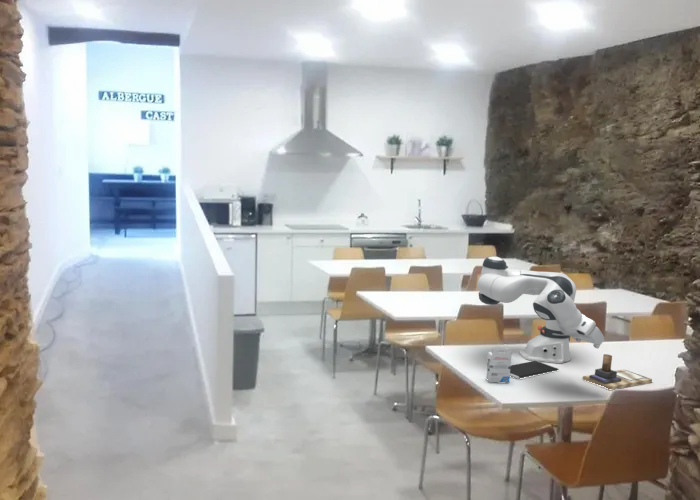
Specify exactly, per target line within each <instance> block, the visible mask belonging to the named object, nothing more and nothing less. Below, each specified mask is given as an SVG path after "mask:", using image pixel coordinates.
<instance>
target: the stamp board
mask: <svg viewBox="0 0 700 500" xmlns="http://www.w3.org/2000/svg"><path fill="white" fill-rule="evenodd" d="M615 371H616V372H617V376H616V378H612V379H607V380H606V379H604V378H601V377H599V376H596V375H595V373H594V374H588V375H582V379H584V380H586V381H585V382H587V381H589V382H592V383H595V384H598V385H601V386H604V387H606V388H608V389H615V390H617V389H616V388H620V389H625V388H626V389H627V388H629V387H630V388H631V387H635V386H641V385H646V384H652V383H653V379H652V378H651V377H647V376H644V375H641V374H639V373H636V372H633V371H630V370H629V369H617V370H615ZM582 379H581V380H582ZM584 380H583V381H584ZM589 382H588V383H589ZM592 383H591V384H592Z"/></svg>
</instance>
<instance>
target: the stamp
mask: <svg viewBox="0 0 700 500" xmlns="http://www.w3.org/2000/svg"><path fill="white" fill-rule="evenodd" d="M612 360H613V355H611V354H608V353H606V354H603V356H602V363H601V364H602V366H601V367H600V368H595V370H594V374H595V375H596V376H599V377H601V378H604V379H606V380H607V379H612V378H616V376H617V372H616V371H617V370H613V369H612Z"/></svg>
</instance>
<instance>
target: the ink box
mask: <svg viewBox="0 0 700 500" xmlns="http://www.w3.org/2000/svg"><path fill="white" fill-rule="evenodd" d="M500 351H501V352H500ZM486 364H487V365H486V376H485V378H487V379H488V380H487V379H486V380H487V381H488V383H490V382H509V383H510V378H511V377H510V367H511V365H512V348H511V347H509V348H508V347H492V349H491V351H488V352H487V362H486Z"/></svg>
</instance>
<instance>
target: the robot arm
mask: <svg viewBox="0 0 700 500" xmlns="http://www.w3.org/2000/svg"><path fill="white" fill-rule="evenodd" d="M477 289H478V291H479V292H478V299H479V300H480V302H481V303H483V304H485V305H488V306H495V305H498V304H500V303H504V304H510V303H513V302H514V301H517V300H518V299H519V298H520V297H521V296H523V295H530V296H537V297H536V298H535V300H534V301H533V302H532V307H533V311H534V313H536V315H537V316H538V317H539V318H540V319H542V320H545V323H544V324H545V325H544V326H541V325H538V326H537V330H538V331H539V334H538V335H536V336H534V337H533V338H531V339H529V340H528V341H527V342H526V346H525V349H522V350H520V354H519V355H520V356H521V357H522V358H524V359H525V360H528V361H538V362H541V363H551V364H552V363H553V364H563V363H565V362H570V361H571V360H572V358H571V354H570V340H571V337H572V338H573V339H574V340H575V341H576V342H577V343H580V342H581V341H585V342H587V343H590V344H592V345H593V348H594V349H599V348H600V346H601V345H602V344H603V343H604V341H605V336H604V335H603V333H602V331H601V329H600V328H599V327H598V326H596V324H597V323H596V322H595V320H593V319H592V318H589V317H587V316H586V315H585V314H583V313H582V312H581V310H579V308H577V305H576V304H575V298H576V295H577V286H576V284H575V282H574V281H573V280H572V279H571V278H570V276H568V275H567V274H565V273H563V272H556V271H555V272H553V271H536V270H529V269H521V268H512V267H511V268H509V266H508V265H507V262H506V261H505V260H504V259H503V258H501V257H500V256H488V257H486V258H484V260H483V262H482V268H481V271H480V275H479V278H478V279H477Z"/></svg>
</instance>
